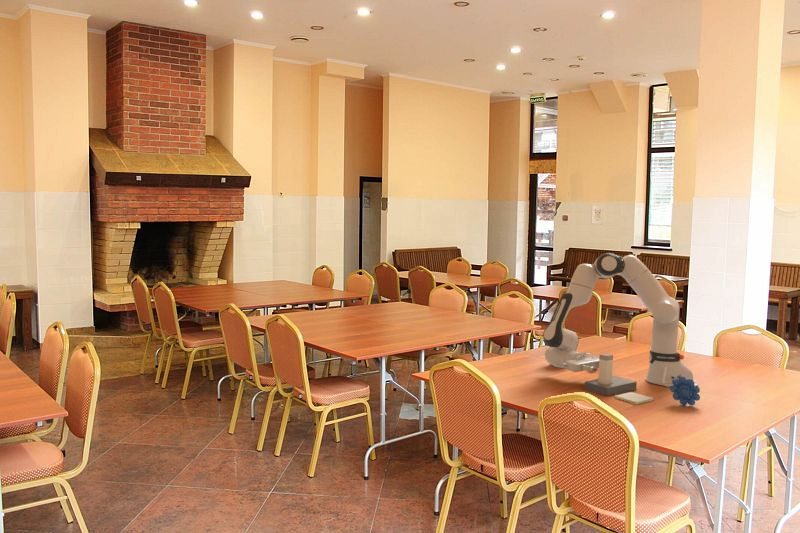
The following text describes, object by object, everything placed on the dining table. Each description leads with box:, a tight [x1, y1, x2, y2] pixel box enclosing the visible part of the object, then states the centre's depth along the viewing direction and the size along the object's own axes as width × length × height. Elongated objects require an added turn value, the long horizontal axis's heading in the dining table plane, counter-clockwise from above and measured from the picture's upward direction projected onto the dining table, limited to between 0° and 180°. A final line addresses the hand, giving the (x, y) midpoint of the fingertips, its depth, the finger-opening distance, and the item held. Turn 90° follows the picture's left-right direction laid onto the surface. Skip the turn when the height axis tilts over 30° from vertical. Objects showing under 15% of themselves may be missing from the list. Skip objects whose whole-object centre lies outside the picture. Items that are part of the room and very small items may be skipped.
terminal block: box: [584, 375, 638, 397], centre depth 299 cm, size 20×12×4 cm, turn 125°
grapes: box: [669, 376, 701, 406], centre depth 276 cm, size 12×7×12 cm, turn 70°
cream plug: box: [597, 352, 614, 385], centre depth 296 cm, size 4×4×16 cm
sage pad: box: [614, 391, 654, 405], centre depth 284 cm, size 11×11×1 cm
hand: (599, 367), depth 299 cm, fingers open, 8 cm apart
